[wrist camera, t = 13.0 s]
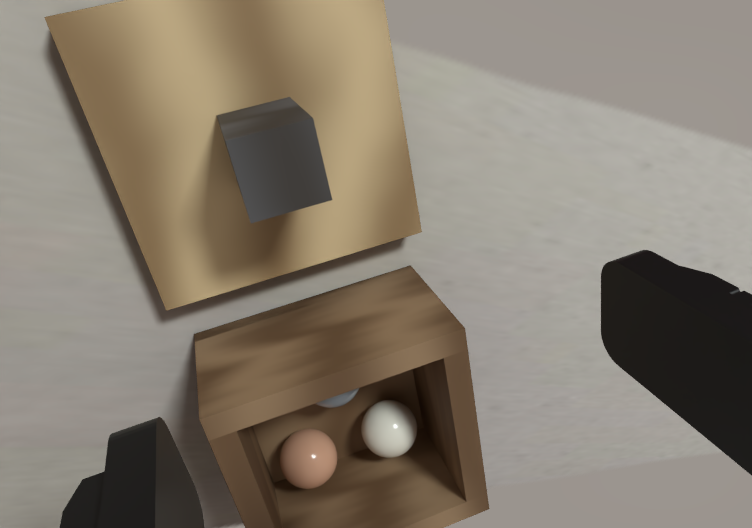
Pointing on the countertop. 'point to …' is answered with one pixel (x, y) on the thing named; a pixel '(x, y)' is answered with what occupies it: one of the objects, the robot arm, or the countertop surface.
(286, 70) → the lid
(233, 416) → the box
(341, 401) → the ball slate
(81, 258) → the countertop surface
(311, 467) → the ball terracotta
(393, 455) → the ball cream
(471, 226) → the countertop surface
